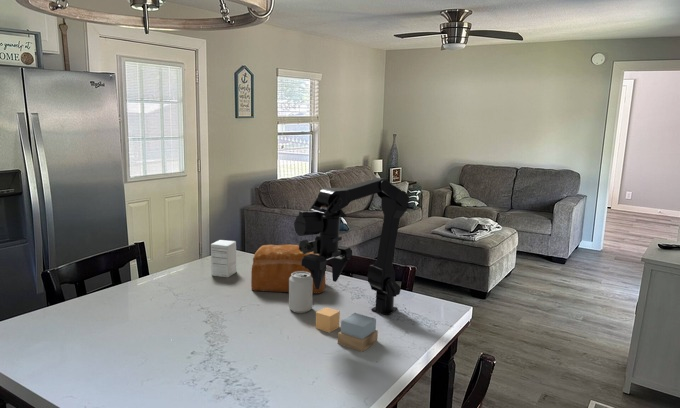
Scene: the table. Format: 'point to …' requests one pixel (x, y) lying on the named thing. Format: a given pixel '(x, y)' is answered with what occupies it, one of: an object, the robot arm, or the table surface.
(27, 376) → the table surface
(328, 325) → the ochre cube
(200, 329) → the table surface
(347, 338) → the walnut base block
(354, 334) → the slate block
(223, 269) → the supplement box
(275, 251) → the bread
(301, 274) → the can
